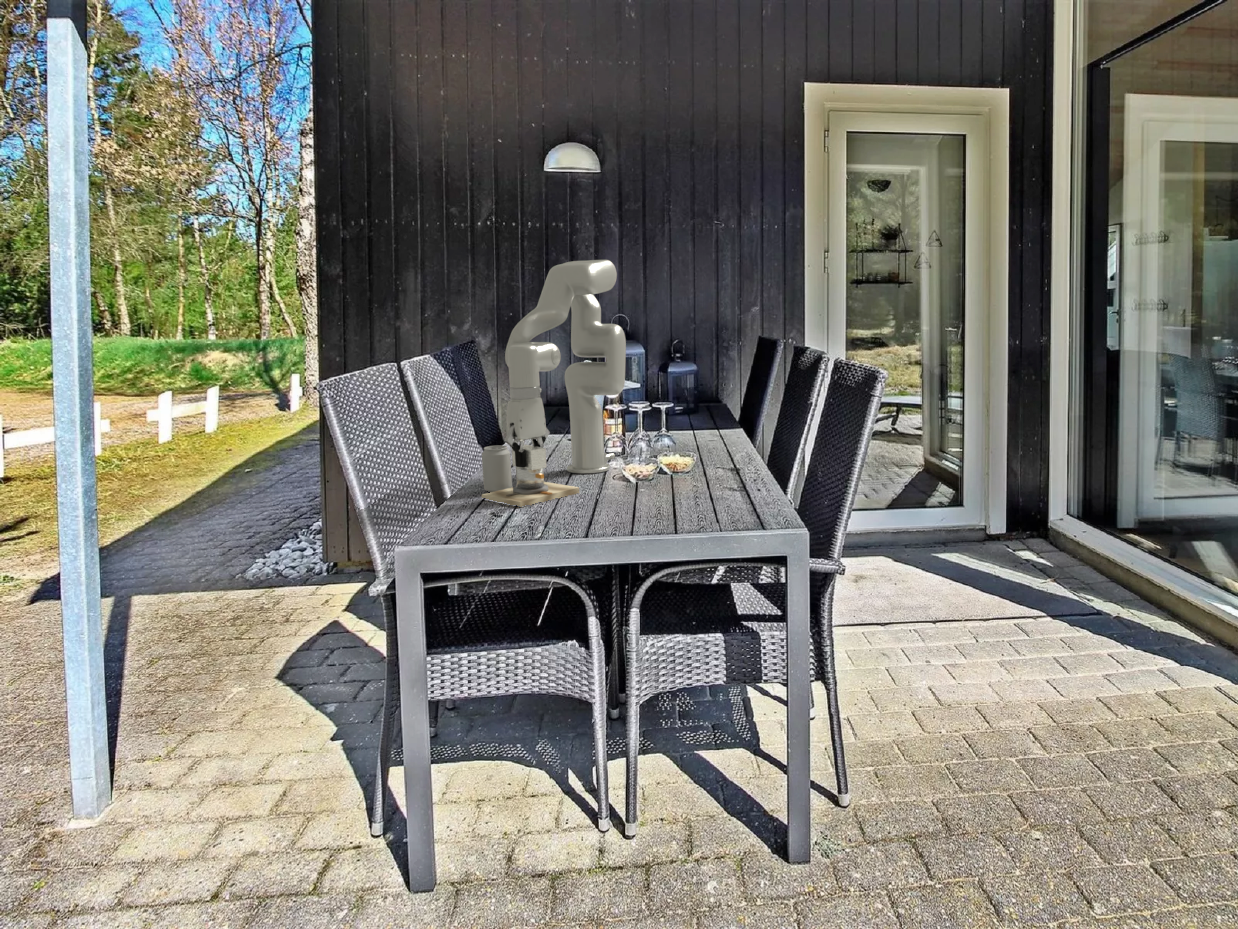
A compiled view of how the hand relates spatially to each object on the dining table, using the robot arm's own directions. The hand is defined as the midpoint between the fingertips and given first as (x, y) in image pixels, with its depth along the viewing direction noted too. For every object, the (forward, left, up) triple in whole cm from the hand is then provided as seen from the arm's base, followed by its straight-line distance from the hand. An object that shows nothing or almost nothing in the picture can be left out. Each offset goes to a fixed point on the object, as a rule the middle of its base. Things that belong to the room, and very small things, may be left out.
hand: (529, 464), depth 222 cm
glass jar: (0, 0, -6) cm, 6 cm away
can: (0, -13, -9) cm, 15 cm away
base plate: (0, 0, -8) cm, 8 cm away
